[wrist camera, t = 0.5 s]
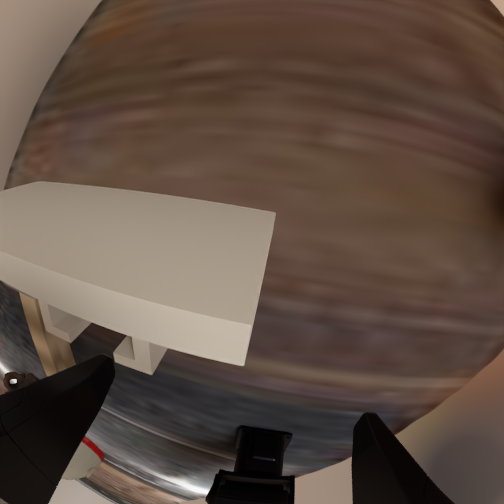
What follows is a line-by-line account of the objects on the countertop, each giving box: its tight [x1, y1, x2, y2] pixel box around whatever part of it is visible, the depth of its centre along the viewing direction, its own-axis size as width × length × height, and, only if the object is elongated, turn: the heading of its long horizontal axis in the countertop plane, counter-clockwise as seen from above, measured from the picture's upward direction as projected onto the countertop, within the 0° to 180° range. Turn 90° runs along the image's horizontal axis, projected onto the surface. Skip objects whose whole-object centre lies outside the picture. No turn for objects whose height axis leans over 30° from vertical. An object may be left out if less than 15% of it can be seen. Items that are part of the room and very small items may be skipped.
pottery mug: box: [4, 372, 38, 392], centre depth 34 cm, size 12×10×8 cm
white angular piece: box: [0, 181, 276, 375], centre depth 16 cm, size 12×24×14 cm, turn 81°
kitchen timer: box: [62, 436, 104, 480], centre depth 35 cm, size 14×14×15 cm
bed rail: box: [4, 282, 76, 377], centre depth 27 cm, size 23×6×5 cm, turn 171°
